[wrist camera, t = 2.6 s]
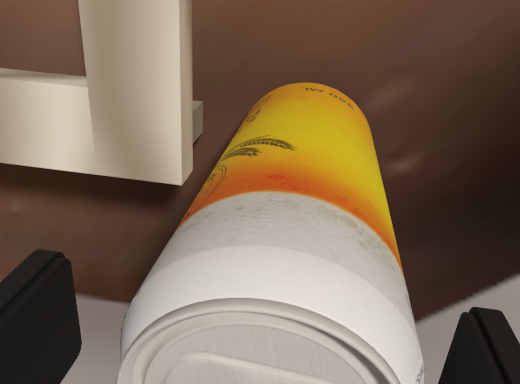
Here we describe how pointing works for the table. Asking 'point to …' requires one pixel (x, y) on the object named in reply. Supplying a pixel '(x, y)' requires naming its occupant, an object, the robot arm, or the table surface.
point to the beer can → (280, 262)
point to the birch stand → (111, 98)
